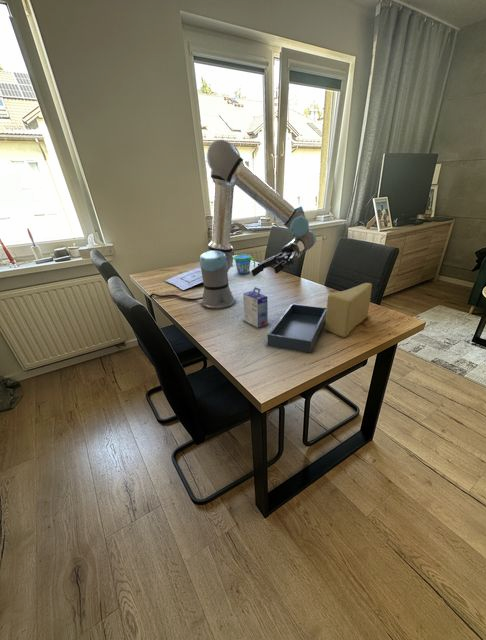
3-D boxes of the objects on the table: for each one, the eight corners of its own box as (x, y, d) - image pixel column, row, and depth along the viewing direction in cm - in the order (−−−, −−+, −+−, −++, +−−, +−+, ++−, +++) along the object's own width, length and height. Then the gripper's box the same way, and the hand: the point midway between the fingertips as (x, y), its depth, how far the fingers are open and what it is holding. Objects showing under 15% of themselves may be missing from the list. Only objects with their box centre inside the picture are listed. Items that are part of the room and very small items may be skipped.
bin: (267, 345, 100) (267, 334, 97) (291, 312, 123) (291, 303, 121) (310, 353, 95) (311, 341, 92) (326, 317, 118) (327, 307, 115)
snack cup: (257, 270, 180) (257, 254, 175) (252, 275, 172) (251, 258, 166) (235, 269, 184) (234, 253, 179) (229, 274, 176) (227, 257, 170)
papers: (228, 276, 167) (227, 270, 165) (184, 294, 153) (182, 288, 151) (207, 268, 183) (206, 263, 181) (166, 284, 169) (164, 279, 167)
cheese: (355, 313, 121) (360, 279, 113) (376, 320, 114) (383, 284, 106) (323, 329, 109) (327, 293, 101) (344, 338, 102) (350, 300, 94)
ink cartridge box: (268, 324, 114) (268, 290, 106) (258, 328, 111) (256, 294, 104) (254, 316, 121) (252, 284, 113) (243, 320, 118) (241, 287, 110)
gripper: (317, 255, 119) (289, 277, 108) (275, 262, 137) (247, 282, 126) (312, 237, 116) (282, 259, 105) (270, 247, 133) (240, 266, 123)
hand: (263, 272), depth 115 cm, fingers open, 13 cm apart
